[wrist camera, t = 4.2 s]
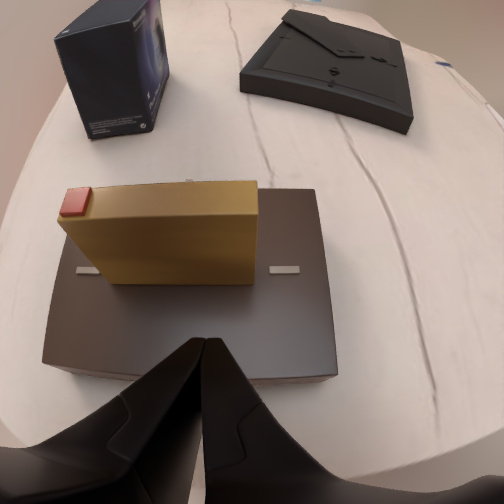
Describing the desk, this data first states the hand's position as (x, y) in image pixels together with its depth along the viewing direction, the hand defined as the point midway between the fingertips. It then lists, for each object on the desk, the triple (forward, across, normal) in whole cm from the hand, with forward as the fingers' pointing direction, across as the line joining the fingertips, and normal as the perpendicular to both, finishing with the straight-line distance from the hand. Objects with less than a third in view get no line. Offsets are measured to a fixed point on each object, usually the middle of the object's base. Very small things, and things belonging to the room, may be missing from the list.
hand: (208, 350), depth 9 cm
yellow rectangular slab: (+6, +2, 0) cm, 7 cm away
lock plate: (+9, +2, +2) cm, 9 cm away
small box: (+22, +9, -11) cm, 27 cm away
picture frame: (+28, -12, -17) cm, 34 cm away
